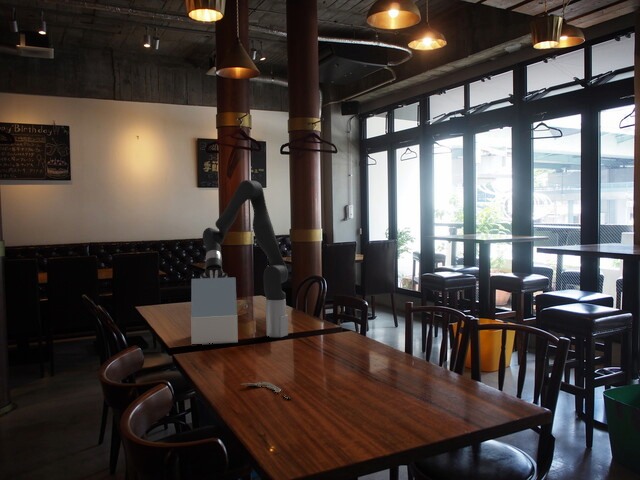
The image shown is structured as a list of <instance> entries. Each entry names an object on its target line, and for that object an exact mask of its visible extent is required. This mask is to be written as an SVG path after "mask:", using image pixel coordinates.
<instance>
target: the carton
mask: <svg viewBox="0 0 640 480" xmlns="http://www.w3.org/2000/svg"><path fill="white" fill-rule="evenodd" d="M238 324H239V323H238V316H237V315H231V316H211V317H191V316H190V330H191V331H190V332H191V334H190V335H191V337H190V338H191V339H190V340H191V343H190V344H191V345H192V344H202V345H214V344H215V345H216V344H217V345H218V344H230V343H231V344H235V343H236V344H237V343H238V342H239V340H238V339H239V337H238V336H239V334H238V326H239V325H238ZM209 343H210V344H209ZM212 343H213V344H212Z"/></svg>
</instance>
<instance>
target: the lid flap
mask: <svg viewBox="0 0 640 480" xmlns="http://www.w3.org/2000/svg"><path fill="white" fill-rule="evenodd" d="M236 281H237V279H236V277H234V276H233V277H227V278H221V277H220V278H208V277H206V278H202V279H201V278H191V294H190V295H191V300H190V301H191V305H190V306H191V308H190V309H191V310H190V312H191V313H190V318H191V317H211V316H231V315H237V303H236V301H237V282H236Z"/></svg>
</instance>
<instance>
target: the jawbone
mask: <svg viewBox="0 0 640 480" xmlns="http://www.w3.org/2000/svg"><path fill="white" fill-rule="evenodd" d="M261 382H262V383H261ZM257 384H258V385H257ZM240 385H241V386H247V387H248V386H252V387H258V388H262V387H261V386H266V387H267V388H270V389H273V390H275V391H273V392H274V393H275V392H280V391H281V390H282V388H280V387H278V386H276V385H275V384H272V383H270V382H269V381H260V382H255V383H253V382H252V383H251V382H247V383H240ZM270 389H269V390H270ZM285 396H286V395H285ZM285 396H284V397H285ZM288 397H289V396H288ZM288 397H285V398H287V399H288ZM285 398H284V399H285ZM287 399H286V400H287Z"/></svg>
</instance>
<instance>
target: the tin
mask: <svg viewBox="0 0 640 480" xmlns="http://www.w3.org/2000/svg"><path fill="white" fill-rule="evenodd" d="M236 303H237V317H238V316H243V315H246V314H247V313H248V312H249V311H250V310H249V309H250V303H249V301H248V300H246V299H239V300H236Z"/></svg>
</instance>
